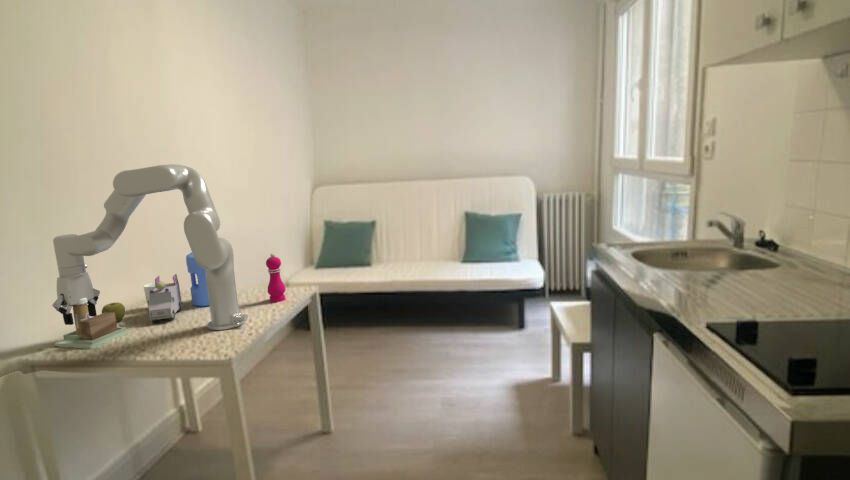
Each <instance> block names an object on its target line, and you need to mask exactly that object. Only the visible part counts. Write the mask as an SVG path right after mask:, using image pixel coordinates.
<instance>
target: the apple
mask: <svg viewBox="0 0 850 480" xmlns="http://www.w3.org/2000/svg"><path fill="white" fill-rule="evenodd" d="M105 312H111V313H115V317H116V323H117V322H119V321H121V320H123V319H124V317H125V314H126V308H125V305H124V304H123V303H121V302H110V303H107V304H105V305H104V306H103V307H102V309H101V314H102V313H105Z"/></svg>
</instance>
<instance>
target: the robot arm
mask: <svg viewBox="0 0 850 480" xmlns="http://www.w3.org/2000/svg"><path fill="white" fill-rule="evenodd" d="M112 186H113V191H112V193H111V194H110V195H109V196H108V197H107V199H106V200H105V201H104V203H103V208H104V209H105V215H104V218H103V219H102V220H101V222H100V224H98V226H97V227H96V229H95V230H94V231H90V232H87V233H84V234H76V233H75V234H73V233H72V234H70V233H69V234H61V235H57V236H55V237H54V238H53V240H52V243H53V249H54V255H55V260H56V264H57V269H58V270H57V271H58V276H57V278H56V296H57V298H56V300H55V301H54V302H53V303H52V307H53V308H54V309H55V310H56V311H57V312H59V313H60V314H62V317H63V322H64V325H66V326H68V325H69V326H72V325H75V321H74V316H73V313H72V312H71V310H72V309H73V305H77V304H78V303H79V300H80V299H83V298H87V306H88V312H89V317H94V316H97V315H98V314H97V310H96V309H97V308H96V305H97V302H98V299H99V295H100V294H101V291H100V290H98V289H96V288H93V284H92V279H91V278H90V275H89V272H88V271H87V270H86V269H88V265H87V264H86V263H85V258H84V257H92V256H95V255H98V254H101V253H104V252H105V251H108V250H109V249H110V248H111V247H113V245H114V244H115V243H116V242H117V240H118V239H119V238H120V236H121V235H122V233H123V232H124V230H125V229H126V226H127V224H128V222H129V218H130V217H131V215H132V214H134V212H135V210H136V209H137V207H138V206H139V205H140V203H141V202H142V201H143V199H144V198H145V196H146V195H151V194H156V193H162V192H171V191H175V190H179V191H181V193H182V197H183V201H184V204H185V206H186V209H187V212H188V214H187V216H186V217H185V219H184V221H183V233H184V234H185V235H184V236H186V237H185V238H186V240H187V243H188V245H189V248H190V250H191V253H193V256H194V258H195V260H196V262H197V264H198V265H199V266H200V267H202V268H203V269H205V274H206V283H207V291H208V299H209V306H208V307H209V313H210V320H211V321H209V322H208V323H207V325H206V327H207V329H209V330H211V331H212V330H213V331H223V330H229V329H233V328H236V327H239V326H241V325H243V324H245V322H247V321H248V318H249V314H246V313H245V314H243V312H242V310H241V309H240V307H239V300H238V299H239V298H238V292H237V284H236V276H235V264H234V261H235V259H234V249H233V247H232V244H231V243H230V242H229V241H228V240H227V239H225V238H223V237H219V236H218V230H219V229H220V226H221V220H220V216H219V215H218V213H217V210H216V207H215V204H214V202H213V199H212V197H211V194H210V192H209V189H208V186H207V184H206V181H205V180H204V178H203V176H202V175H201V174H200V173H199V172H198V171H197V170H195V169H194V168H192V167H189V166H186V165H182V164H159V165H153V166H147V167H141V168H134V169H127V170H123V171H122V170H121V171H120V172H118V173H117V174H116V175H115V176H114V177H113V180H112Z"/></svg>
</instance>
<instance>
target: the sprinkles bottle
mask: <svg viewBox="0 0 850 480" xmlns="http://www.w3.org/2000/svg"><path fill="white" fill-rule="evenodd" d="M87 305H88V304H87V298H83V299H80V300H79V303H78V304H77V305H73V306H72V312H73V313H72V315H73V322H74V326H75V327H74V328H75V329H76V330H75V331H77V335H82V332H81V326H80V321H83V320H86V319H89V318H91V316H89V312H88V306H87Z"/></svg>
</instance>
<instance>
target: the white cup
mask: <svg viewBox="0 0 850 480" xmlns="http://www.w3.org/2000/svg"><path fill="white" fill-rule="evenodd" d="M162 282H163V283H164V284H166V283H165V282H164V281H162ZM142 287H143V292H144V296H145V301H146V303H147V308H148V310H149V307H150V304H149V305H148V302H147V300H149V303H150V297H149V293H150V291H151V290H154V289H155V288H156V287H155V282H150V283H147V284H144V285H143V286H142Z"/></svg>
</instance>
